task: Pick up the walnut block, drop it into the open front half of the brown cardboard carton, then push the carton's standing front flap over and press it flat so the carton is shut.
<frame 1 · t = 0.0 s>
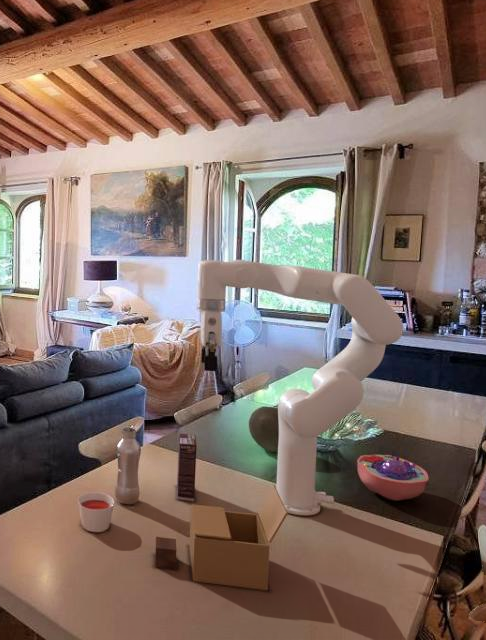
hand: (208, 366, 144), 37 cm above the table, tool pointing down, fingers open, 9 cm apart
dark brown egg shape: (268, 450, 181), on the table
white cup: (95, 526, 130), on the table
silver metal bottle: (127, 502, 143), on the table
flap: (271, 512, 112), point 13 cm above the table, hinge at 115.0°
supplement box: (185, 494, 148), on the table
block: (165, 562, 115), on the table
cell model: (389, 495, 149), on the table
carton: (225, 567, 114), on the table
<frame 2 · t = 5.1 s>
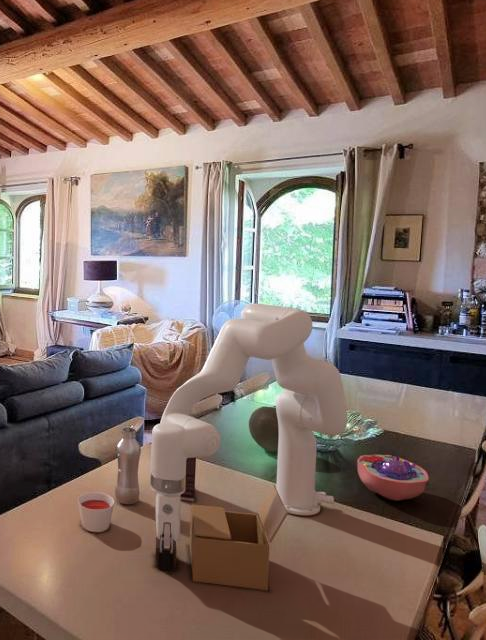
hand: (165, 560, 115), 0 cm above the table, tool pointing down, fingers closed on block, 4 cm apart
block: (165, 562, 115), on the table, touching gripper
everything else where it was.
when the fingers open (6 cm above the table, at t = 10.4 s): block drops 6 cm, resting on carton.
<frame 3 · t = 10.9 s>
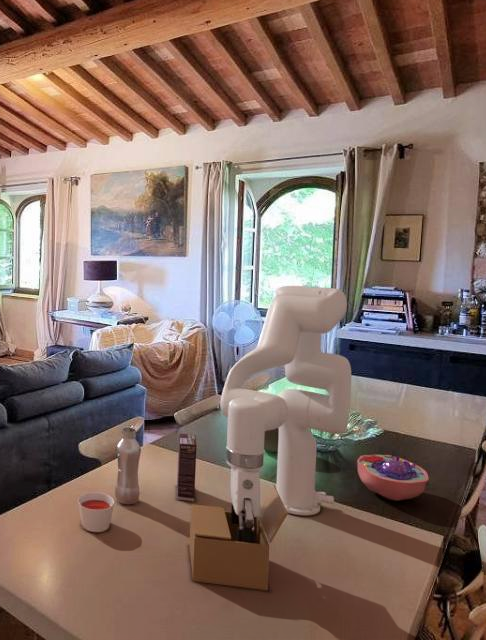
hand: (241, 534, 113), 8 cm above the table, tool pointing down, fingers open, 8 cm apart
block: (240, 566, 114), resting on carton
everything else where it was.
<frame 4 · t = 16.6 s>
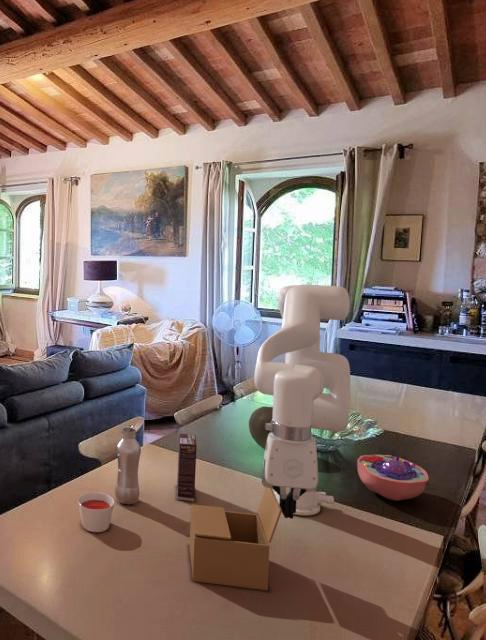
hand: (287, 515, 111), 13 cm above the table, tool pointing down, fingers closed
flap: (268, 510, 112), point 14 cm above the table, hinge at 105.2°
everything else where it was.
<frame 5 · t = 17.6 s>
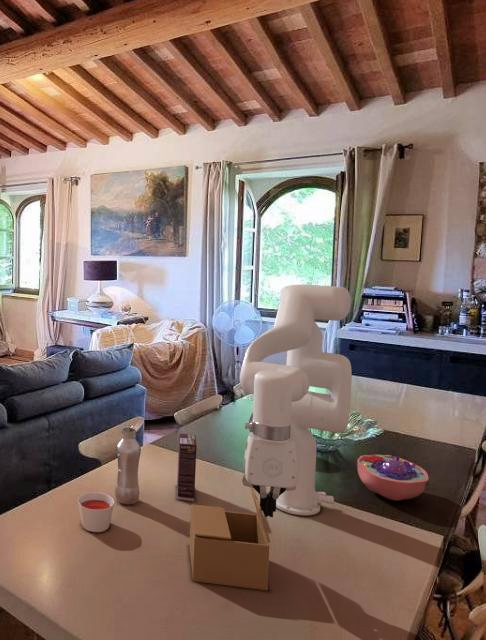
hand: (267, 513, 112), 13 cm above the table, tool pointing down, fingers closed
flap: (258, 510, 112), point 14 cm above the table, hinge at 73.0°, touching gripper
everything else where it was.
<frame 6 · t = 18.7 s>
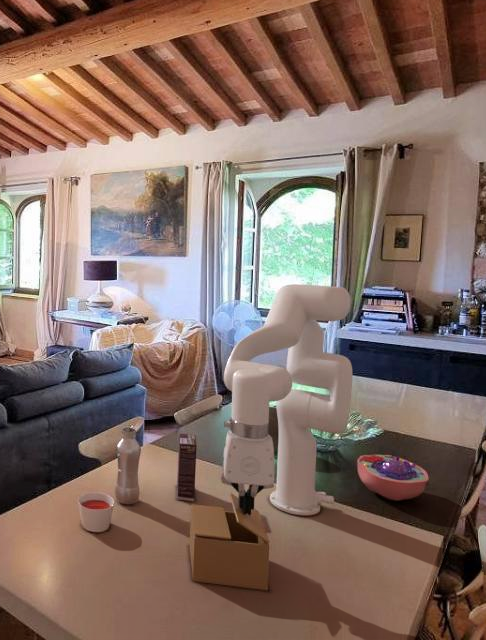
hand: (245, 511, 113), 13 cm above the table, tool pointing down, fingers closed
flap: (248, 516, 113), point 12 cm above the table, hinge at 30.8°, touching gripper
everything else where it was.
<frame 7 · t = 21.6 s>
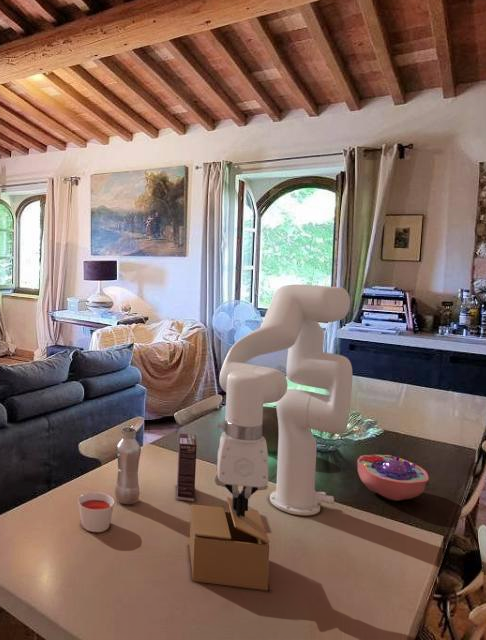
hand: (239, 513, 113), 13 cm above the table, tool pointing down, fingers closed
flap: (246, 518, 113), point 11 cm above the table, hinge at 21.4°, touching gripper
everything else where it was.
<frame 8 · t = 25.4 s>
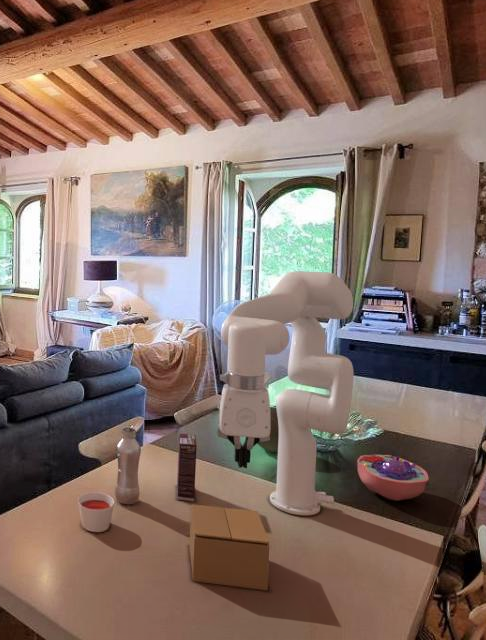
hand: (241, 465, 112), 23 cm above the table, tool pointing down, fingers closed
flap: (245, 524, 113), point 10 cm above the table, hinge at -0.4°
everything else where it was.
at the end: block inside the target area in the carton (3.0 cm from its centre), point 0.4 cm above the carton's base; flap at +0° (first picture: +115°) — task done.
